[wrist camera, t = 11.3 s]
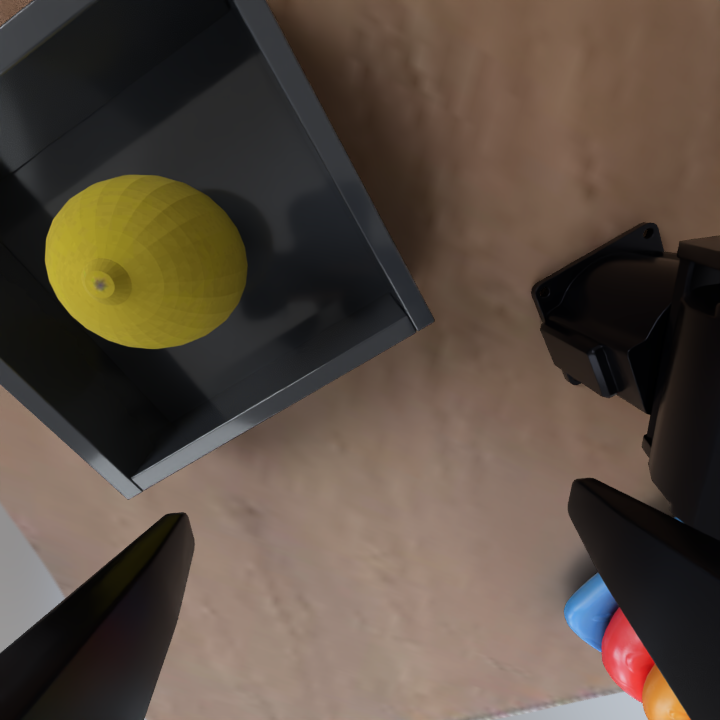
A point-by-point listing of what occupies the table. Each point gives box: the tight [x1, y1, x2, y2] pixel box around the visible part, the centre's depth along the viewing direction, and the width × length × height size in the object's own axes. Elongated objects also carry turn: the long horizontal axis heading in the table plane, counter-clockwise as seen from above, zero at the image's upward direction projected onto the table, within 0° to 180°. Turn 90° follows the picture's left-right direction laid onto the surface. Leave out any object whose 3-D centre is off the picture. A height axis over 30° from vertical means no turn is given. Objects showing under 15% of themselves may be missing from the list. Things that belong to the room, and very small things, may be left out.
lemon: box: [45, 175, 248, 349], centre depth 13 cm, size 6×6×8 cm
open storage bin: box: [0, 0, 435, 500], centre depth 15 cm, size 15×14×5 cm
